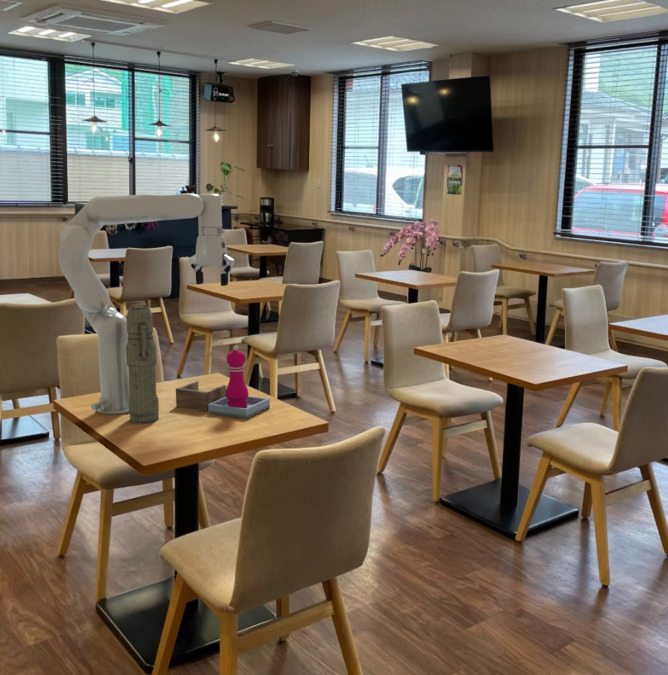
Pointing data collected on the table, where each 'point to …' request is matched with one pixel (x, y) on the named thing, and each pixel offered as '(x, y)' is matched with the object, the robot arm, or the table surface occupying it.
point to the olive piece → (141, 365)
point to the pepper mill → (236, 379)
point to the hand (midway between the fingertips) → (212, 284)
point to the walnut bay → (198, 396)
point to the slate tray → (252, 408)
